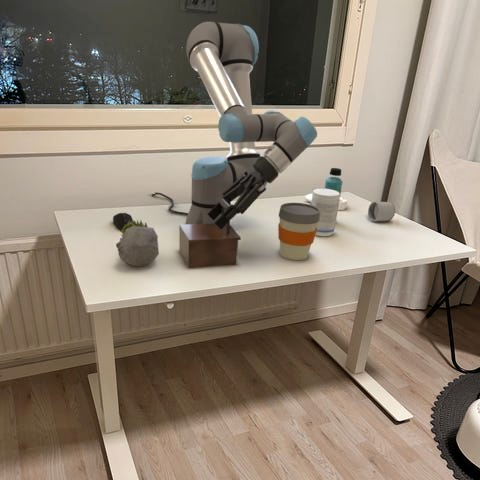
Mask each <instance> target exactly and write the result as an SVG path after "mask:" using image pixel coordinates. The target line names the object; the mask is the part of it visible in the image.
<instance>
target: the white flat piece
mask: <svg viewBox="0 0 480 480" xmlns="http://www.w3.org/2000/svg"><path fill="white" fill-rule="evenodd" d="M312 194H313V192H312V193H309V194H306V195H305V196H304V200H305V201H307V202H309V203H311V201H312ZM339 200H340V201H339V206H338V211H344V210H346V208H347V204H348V203H347V202H348V200H347V199H345V198H344V197H342V196H341V195H340V199H339Z"/></svg>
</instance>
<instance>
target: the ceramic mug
mask: <svg viewBox="0 0 480 480" xmlns="http://www.w3.org/2000/svg"><path fill="white" fill-rule="evenodd" d="M395 214H396V207H395V205H394V204H393V203H391V202H389V201H377V200H374V201H372V202H371V203H370V204H369V206H368V210H367V216H368V219H369V220H370V221H371V222H388V221H391V220H392V219H394V217H395Z"/></svg>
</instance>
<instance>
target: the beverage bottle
mask: <svg viewBox="0 0 480 480" xmlns="http://www.w3.org/2000/svg"><path fill="white" fill-rule="evenodd" d="M329 170H330V171H329V175H330V176H329V177H327V178H326V179H325V182H324V184H325V185H324V189H331V190H335V191H338V192H339V193H340V196H341V194H342V186H343V180H342V179H341V178H340V176H342V169H341V168H337V167H331V168H330V169H329ZM339 199H340V198H339ZM339 201H340V200H339Z"/></svg>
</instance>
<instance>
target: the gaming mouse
mask: <svg viewBox="0 0 480 480" xmlns="http://www.w3.org/2000/svg"><path fill="white" fill-rule="evenodd" d="M132 219H133V217H132V215H131V214H129V213H127V212H118V213H116V214H115V215H113V217H112V222H113V224H114V225H115V227H116V229H117V230H119V231H122V229H123V227H124V226H125V224H127V225H128V223H129V221H130V222H131V223H132ZM127 222H128V223H127Z"/></svg>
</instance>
